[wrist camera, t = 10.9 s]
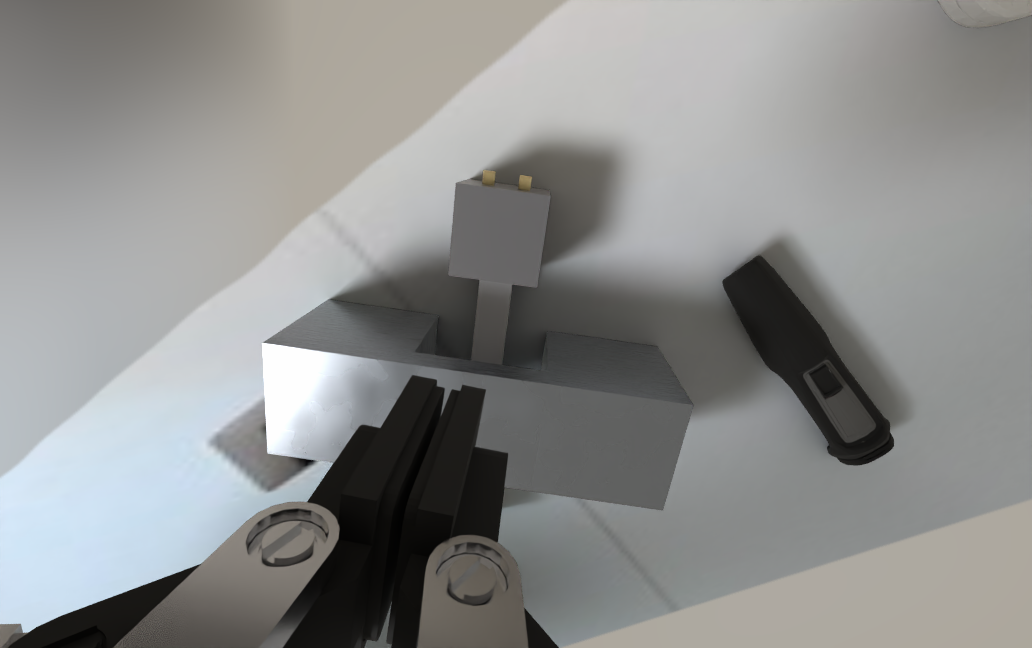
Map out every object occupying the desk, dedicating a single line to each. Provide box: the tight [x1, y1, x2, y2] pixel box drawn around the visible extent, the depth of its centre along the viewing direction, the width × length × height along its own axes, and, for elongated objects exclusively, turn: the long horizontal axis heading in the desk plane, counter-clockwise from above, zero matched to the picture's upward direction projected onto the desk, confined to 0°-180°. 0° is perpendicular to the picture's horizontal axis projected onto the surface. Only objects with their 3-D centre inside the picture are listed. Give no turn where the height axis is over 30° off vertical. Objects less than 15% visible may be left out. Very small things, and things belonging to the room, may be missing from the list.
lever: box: [448, 170, 551, 365], centre depth 27 cm, size 22×4×4 cm, turn 173°
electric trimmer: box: [722, 256, 894, 465], centre depth 27 cm, size 4×16×3 cm, turn 39°
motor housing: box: [262, 299, 693, 510], centre depth 26 cm, size 6×20×7 cm, turn 82°
